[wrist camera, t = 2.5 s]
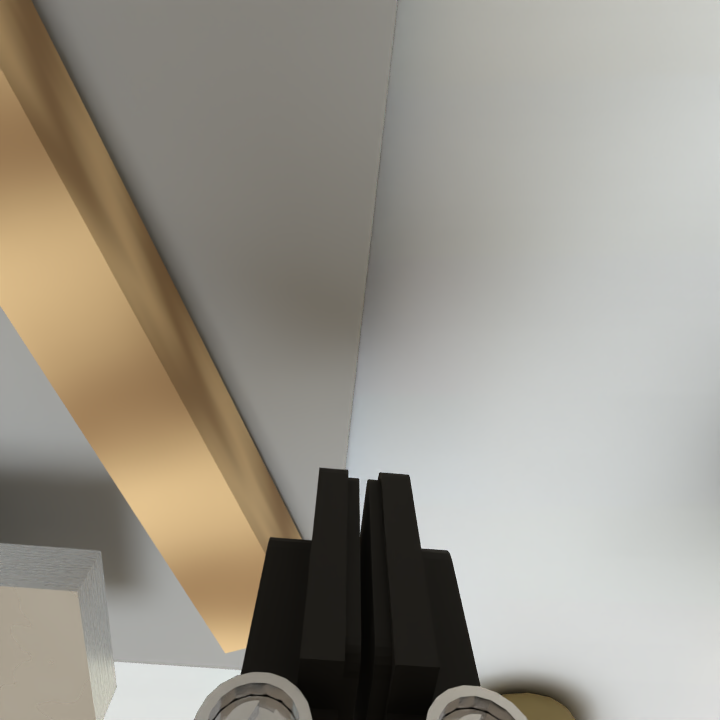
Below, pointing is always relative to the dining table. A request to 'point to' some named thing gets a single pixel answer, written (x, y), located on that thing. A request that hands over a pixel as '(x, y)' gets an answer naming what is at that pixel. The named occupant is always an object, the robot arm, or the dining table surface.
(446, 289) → the dining table surface
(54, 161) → the oak link
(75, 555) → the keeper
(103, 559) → the base plate
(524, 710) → the squeeze bottle
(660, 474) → the dining table surface
